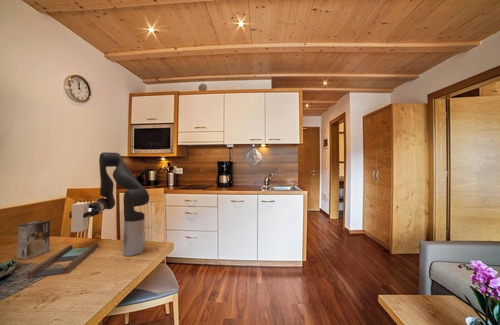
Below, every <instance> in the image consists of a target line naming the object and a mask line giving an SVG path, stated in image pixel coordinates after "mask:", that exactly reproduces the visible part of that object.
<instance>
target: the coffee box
mask: <svg viewBox="0 0 500 325" xmlns="http://www.w3.org/2000/svg"><path fill="white" fill-rule="evenodd" d="M50 223H51V221H50V220H45V219H44V220H43V219H42V220H41V219H40V220H36V221H31V222H26V223H21V224H17V249H16V250H17V252H16V258H17V259H23V260H28V259H31V258H35V257H36V256H40V255H43V254H45V253H48V252H50V233H51V232H50V230H51V224H50Z"/></svg>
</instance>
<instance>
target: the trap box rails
mask: <svg viewBox="0 0 500 325" xmlns="http://www.w3.org/2000/svg"><path fill="white" fill-rule="evenodd" d="M73 247H74V246H73V244H68V245H67V246H65V247H64V248H63V249H61V250H59V251H58V252H57V253H55V254H53V255H52V256H50V257H48V258H47V259H45V260H44V261H42V262H41V263H39V264H37V265H36V266H35V267H33V268H32V269H29V270H28V271H27V273H26V274H27V276H26V277H27V279H32V278H34V277H33V276H34V275H36V274H37V273H39V272H40V271H42V270H46V269H47V268H48V267H50V266H51V265H53V264H54V263H56V262H55V261H56V260H57V259H59V258H60V257H62V256H63V255H65V254H66V253H67V252H69V251H70V250H72V249H74V248H73ZM87 248H88V247H87ZM96 248H97V249H98V248H99V242H94V243H93V244H92V245H90V246H89V248H88V249H87V250H85V251H84V252H83V253H82V254H80V255H79V256H78V257H77V258H75V259H74V260H71V261H69V263H68V264H67V265H65V266H63V268H64V270H63V274H62V275H66V274H69V273H71V271H73V270H74V269H75V268H76V267H77V266H78V265H80V264H81V263H82V262H83V261H84V260H86V259H87V257H89V256H90V255H91V254H92V253H94V251H96V250H97V249H96ZM95 249H96V250H95Z"/></svg>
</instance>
